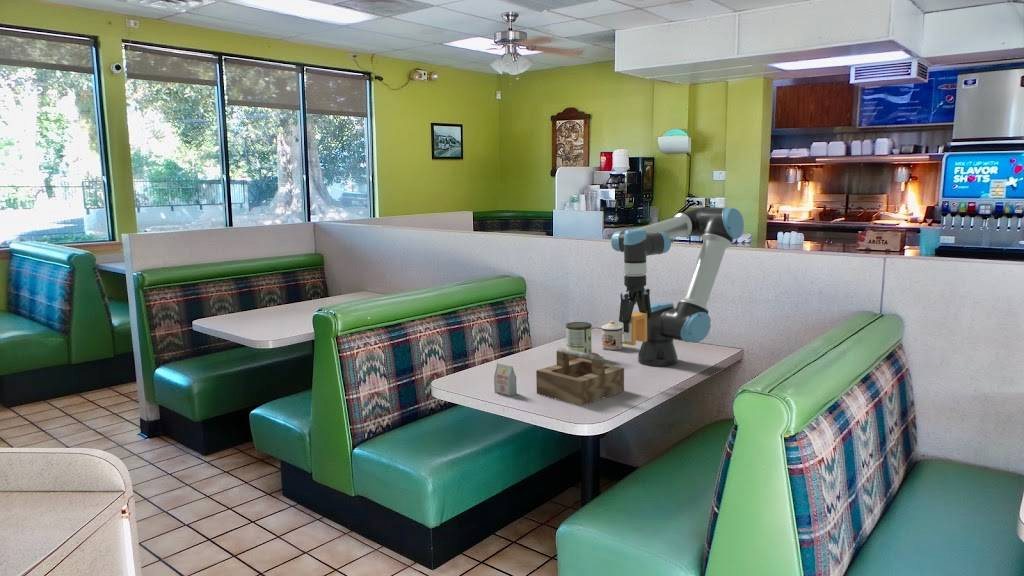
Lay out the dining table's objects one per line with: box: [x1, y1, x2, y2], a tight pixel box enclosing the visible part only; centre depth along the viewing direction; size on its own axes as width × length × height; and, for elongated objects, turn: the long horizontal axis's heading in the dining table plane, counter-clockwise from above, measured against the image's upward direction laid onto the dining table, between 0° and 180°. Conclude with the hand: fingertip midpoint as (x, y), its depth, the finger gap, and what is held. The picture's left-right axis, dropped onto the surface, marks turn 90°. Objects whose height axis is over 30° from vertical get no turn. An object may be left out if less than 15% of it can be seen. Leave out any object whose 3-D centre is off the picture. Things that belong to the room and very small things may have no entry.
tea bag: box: [493, 362, 518, 397], centre depth 239 cm, size 4×7×10 cm, turn 49°
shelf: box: [535, 347, 625, 407], centre depth 238 cm, size 22×20×14 cm
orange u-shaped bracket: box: [623, 311, 647, 346], centre depth 245 cm, size 8×4×10 cm, turn 133°
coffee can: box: [565, 321, 593, 353], centre depth 282 cm, size 10×10×14 cm
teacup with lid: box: [601, 320, 625, 351], centre depth 297 cm, size 12×9×12 cm
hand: (635, 338), depth 245 cm, fingers closed on orange u-shaped bracket, 8 cm apart
